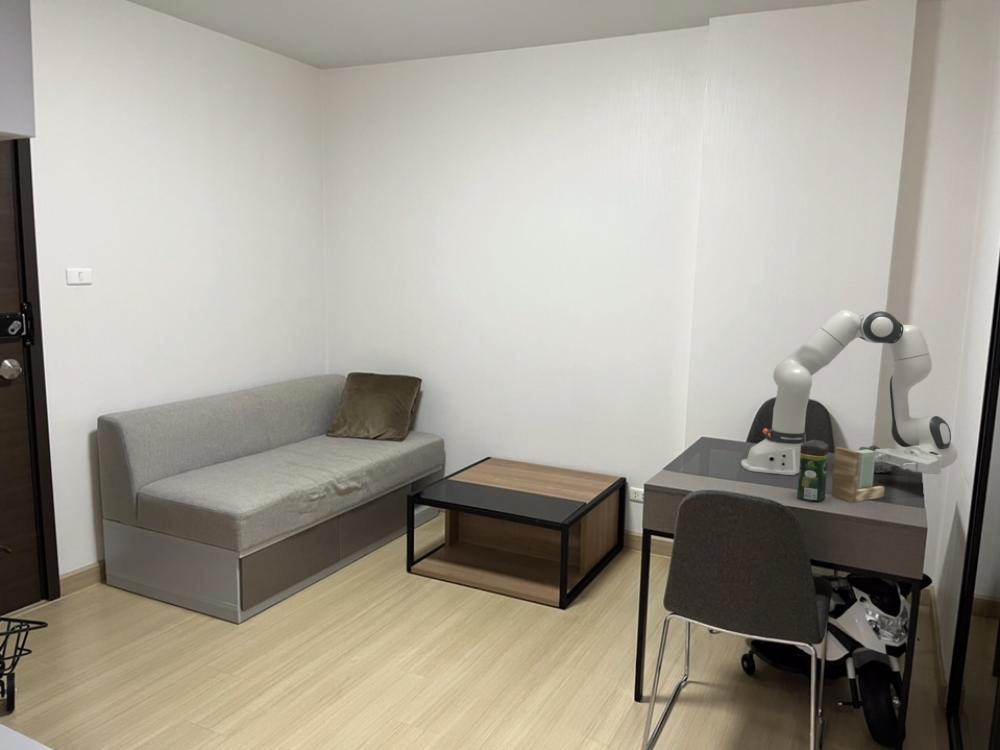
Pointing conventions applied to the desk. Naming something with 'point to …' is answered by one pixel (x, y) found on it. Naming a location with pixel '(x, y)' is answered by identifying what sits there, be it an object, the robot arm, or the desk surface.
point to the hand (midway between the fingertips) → (889, 462)
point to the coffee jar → (812, 470)
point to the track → (850, 478)
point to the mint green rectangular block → (865, 469)
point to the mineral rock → (880, 465)
